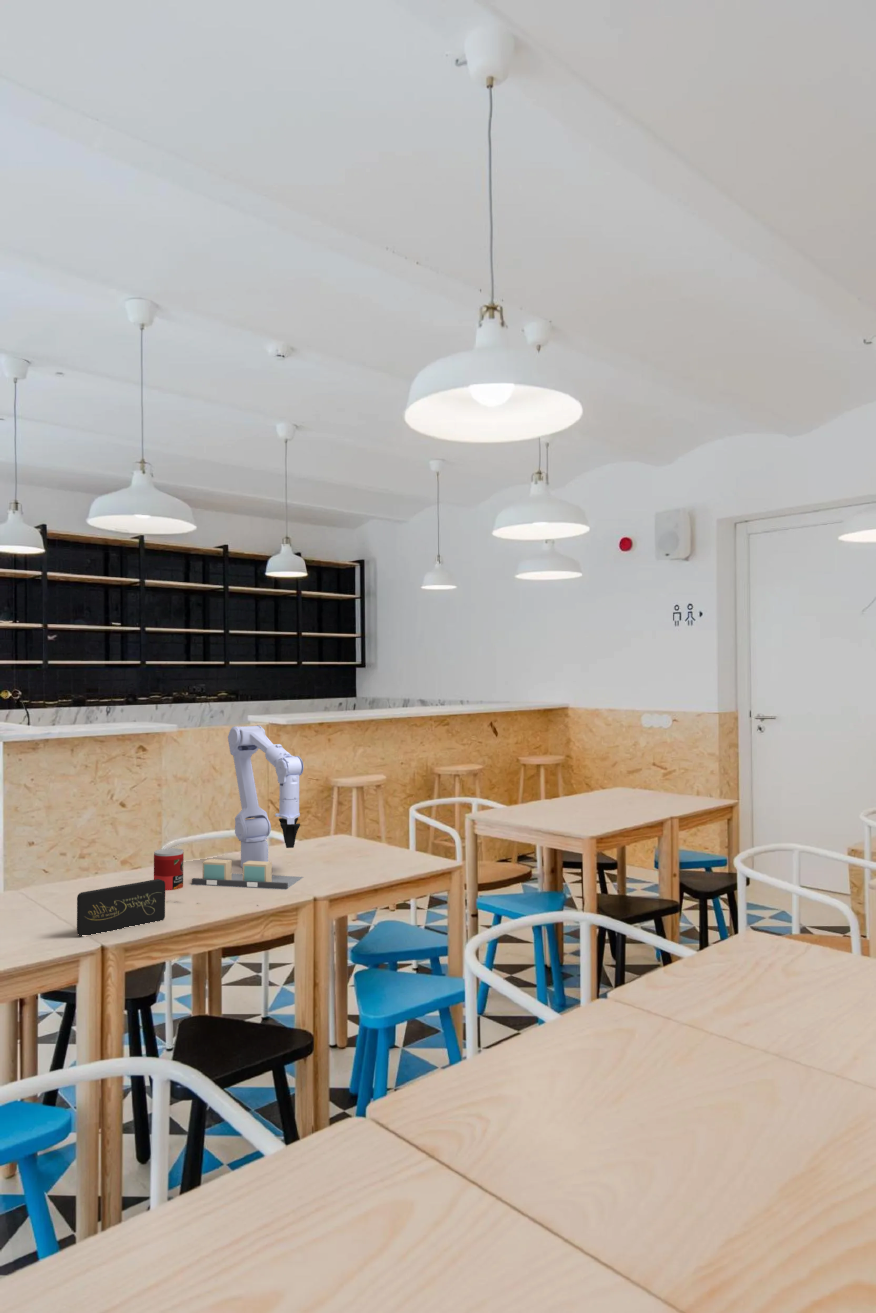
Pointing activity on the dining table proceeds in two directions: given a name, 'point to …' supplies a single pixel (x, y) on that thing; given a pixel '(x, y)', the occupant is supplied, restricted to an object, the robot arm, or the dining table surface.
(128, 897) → the nameplate
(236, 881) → the shelf board
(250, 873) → the carton
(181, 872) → the canned food
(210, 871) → the faced carton
